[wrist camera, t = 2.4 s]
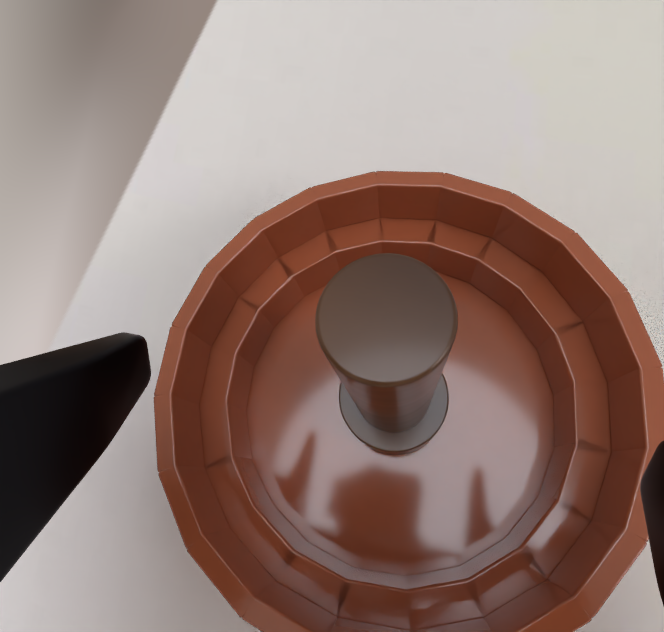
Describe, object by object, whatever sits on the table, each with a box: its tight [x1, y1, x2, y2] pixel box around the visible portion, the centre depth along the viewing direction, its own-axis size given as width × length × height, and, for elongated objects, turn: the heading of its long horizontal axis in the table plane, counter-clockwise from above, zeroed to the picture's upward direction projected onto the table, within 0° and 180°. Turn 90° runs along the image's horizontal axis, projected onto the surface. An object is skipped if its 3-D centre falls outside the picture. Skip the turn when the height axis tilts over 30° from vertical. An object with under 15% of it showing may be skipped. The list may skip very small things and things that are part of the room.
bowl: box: [154, 171, 664, 632], centre depth 16 cm, size 14×14×5 cm
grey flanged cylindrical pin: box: [315, 253, 458, 455], centre depth 12 cm, size 4×4×10 cm
